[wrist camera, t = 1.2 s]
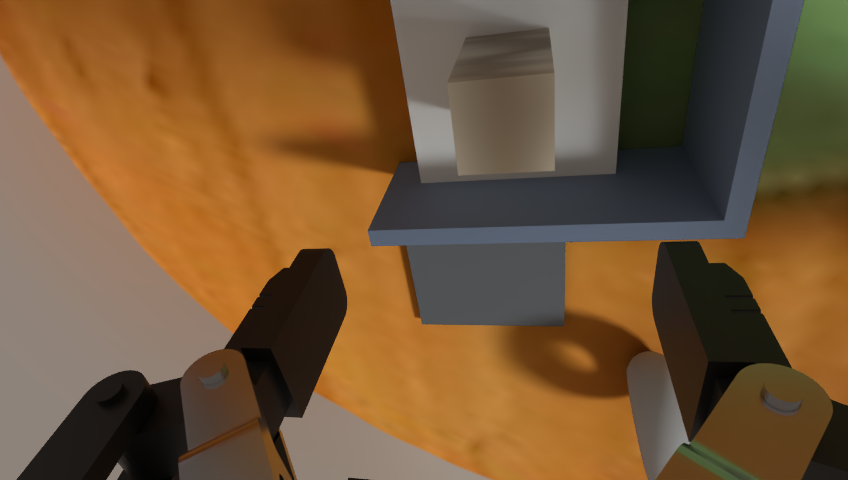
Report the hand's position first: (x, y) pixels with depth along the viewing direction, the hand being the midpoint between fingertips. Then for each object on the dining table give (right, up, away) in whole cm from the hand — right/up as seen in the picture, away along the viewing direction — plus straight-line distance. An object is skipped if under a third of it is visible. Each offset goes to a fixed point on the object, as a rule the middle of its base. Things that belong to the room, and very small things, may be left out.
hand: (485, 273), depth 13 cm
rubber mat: (+3, -1, +24) cm, 24 cm away
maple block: (+3, +9, +13) cm, 16 cm away
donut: (+16, -9, +27) cm, 33 cm away
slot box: (+4, +11, +15) cm, 19 cm away
